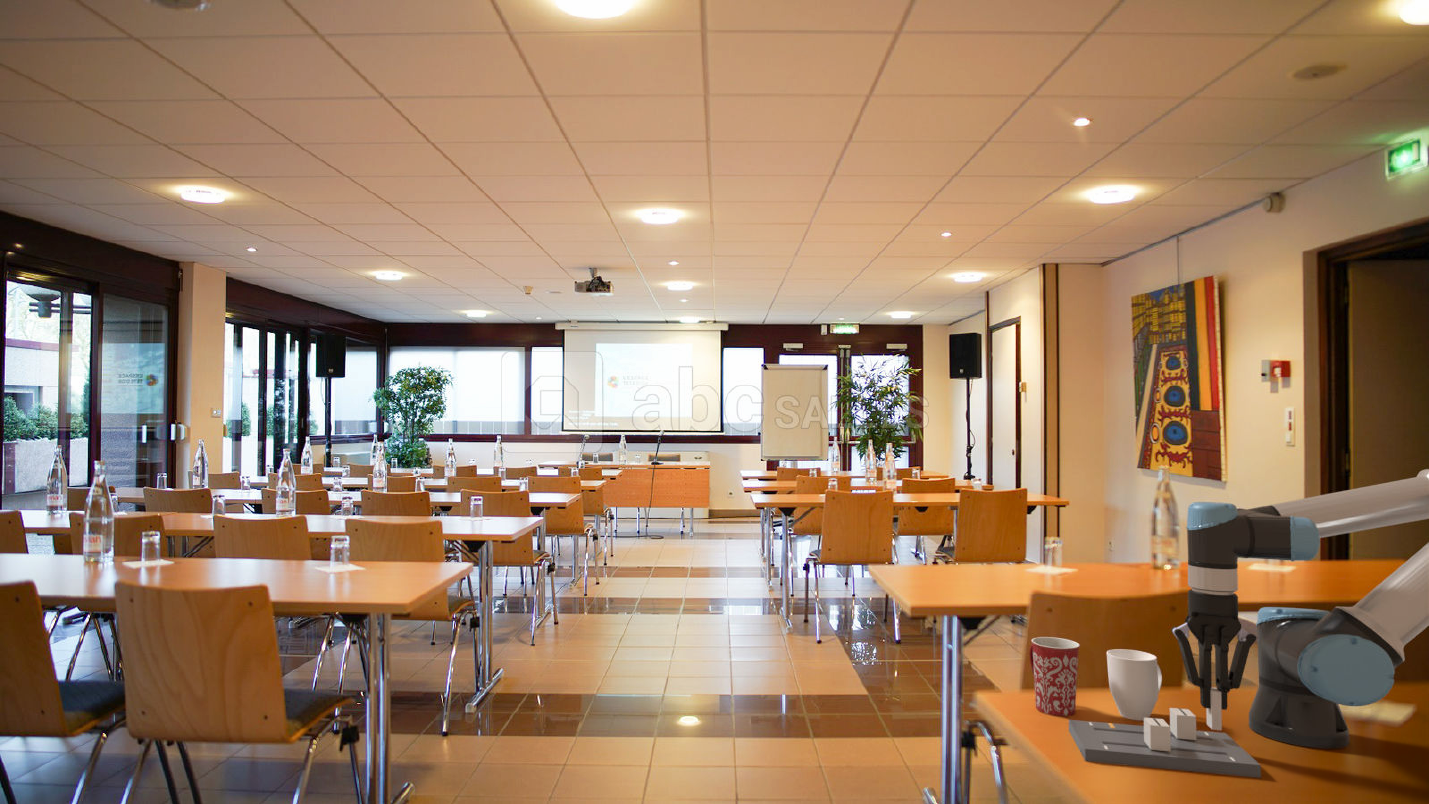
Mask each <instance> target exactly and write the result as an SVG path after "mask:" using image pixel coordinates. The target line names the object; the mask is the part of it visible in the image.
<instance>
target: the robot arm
mask: <svg viewBox="0 0 1429 804" xmlns="http://www.w3.org/2000/svg"><path fill="white" fill-rule="evenodd" d="M1186 519H1187V520H1186V523H1187V524H1186V537H1187V586H1188V587H1190V588H1191V589H1189V590H1187V610H1188V611H1187V612H1188V613H1187V616H1186V617H1185V620H1184V621H1185V622H1184V623H1183V624H1181V625H1179V626H1173V627H1171V630H1170V631H1171V633H1172V634H1173V636H1174V637H1175V638H1176V640H1177V643H1178V646H1179V650H1180V655H1181V658H1182V662H1183V665H1184V668H1185V672H1186V676H1187V680H1188V681H1189V682H1190V683H1191V684H1192V685H1194V686H1197V687H1199V689H1200V690H1199V694H1200V700H1199V701H1200V705H1201V706H1202V707H1203V708H1204V709H1206V710H1205V711H1206V725H1207V726H1208V727H1209V728H1210V729H1211V730H1214V731H1222V730H1223V729H1222V728H1223V727H1222V710H1225V711H1227V709H1228V694H1229V693H1230V692H1231V690H1233V689H1235V690H1238V689H1239V688H1240V687H1241V683H1242V680H1243V676H1244V671H1245V668H1246V665H1247V660H1248V657H1249V653H1250V649H1251V647H1252V646H1253V645H1254V643H1256V640H1257V661H1258V662H1257V664H1258V665H1257V666H1258V670H1257V671H1258V688H1257V690H1256V693H1255V696H1254V698H1253V700H1252V704H1251V706H1250V709H1249V712H1248V727H1249V728H1250V729H1251V730H1252V731H1253V732H1255V733H1256V734H1258V735H1261V736H1263V737H1266V738H1269V739H1271V740H1275V741H1279V742H1282V743H1286V744H1291V745H1296V746H1300V747H1301V746H1302V747H1308V748H1316V749H1341V748H1345V747H1347V746H1349V745H1350V731H1349V727H1348V725H1347V722H1346V720H1345V717H1344V714H1343V712H1342V709H1341V708H1340V705H1341V706H1346V707H1365V706H1368V705H1371V704H1375V703H1377V702H1378V701H1380V700H1382V699H1383V698H1384V697H1386V696H1387V695H1388V694H1389V692H1390V691H1391V689H1392V688H1393V685H1394V684H1395V679H1394V675H1395V674H1396V673H1395V672H1396V671H1395V670H1396V669H1397V668H1398V667H1399V666H1400V665H1402V663H1404V662H1405V652H1404V647H1405V646H1406V645H1407V644H1408V643H1409V642H1411V641H1412V640H1413V639H1415V638H1416V636H1418V635H1420V633H1422V632H1423V631H1424V630H1425V629H1426V628H1428V626H1429V542H1427V543H1426V544H1425V545H1424V546H1423V547H1421V549H1420V550H1418V551H1417V552H1416V553H1415V554H1413V555H1412V556H1411V557H1410V558H1409V559H1408V560H1406V561H1405V562H1404V563H1403V564H1402V565H1400V566H1399V567H1397V569H1396V570H1395V571H1393V572H1392V573H1391V574H1390V575H1388V576H1387V577H1386V578H1384V580H1382V582H1381V583H1379V584H1378V585H1377V586H1375V587H1374V588H1372V590H1370V591H1369V592H1368V593H1367V594H1366V595H1365V596H1364V597H1362V598H1361V599H1360V600H1359V601H1358V602H1356V604H1354V605H1353V606H1335V607H1334V608H1333V609H1331V610H1330V611H1329V610H1324V609H1323V610H1321V609H1313V608H1301V607H1300V608H1298V607H1297V608H1296V607H1280V606H1279V607H1278V606H1265V607H1261V608H1260V609H1259V610H1258V612H1257V618H1256V619H1257V621H1256V623H1255V626H1256V630H1257V631H1256V632H1257V635H1255V634H1253V633H1251V632H1250V631H1247V630H1245V629H1244V628H1242V624H1241V622H1240V620H1239V596H1238V595H1237V594H1236V593H1235V592H1237V591H1238V590H1239V578H1238V577H1239V576H1238V568H1239V567H1238V565H1239V564H1238V561H1239V560H1238V559H1239V558H1241V559H1262V560H1276V561H1277V560H1278V561H1290V562H1296V561H1311V560H1313V559H1315V558H1316V557H1317V555H1318V553H1319V550H1320V547H1321V541H1320V540H1321V538H1328V537H1333V536H1338V535H1339V536H1340V535H1345V534H1351V533H1356V532H1360V531H1361V532H1362V531H1367V530H1368V531H1369V530H1372V529H1377V528H1384V527H1390V526H1395V525H1400V524H1401V525H1402V524H1406V523H1411V522H1418V521H1422V520H1424V521H1425V520H1428V519H1429V468H1426V469H1422V470H1421V471H1419V472H1418V474H1417V475H1416V477H1410V478H1409V477H1408V478H1405V479H1400V480H1394V481H1389V482H1385V483H1384V482H1383V483H1379V484H1373V485H1368V486H1363V487H1358V488H1352V489H1347V490H1342V491H1336V492H1331V493H1325V494H1321V495H1315V496H1311V497H1306V498H1301V499H1300V498H1299V499H1296V500H1295V499H1294V500H1290V501H1285V502H1279V503H1274V504H1270V505H1265V506H1258V507H1252V508H1247V509H1246V508H1240V507H1239V508H1237V506H1236V505H1235V504H1233V503H1230V502H1229V503H1228V502H1217V501H1216V502H1214V501H1195V502H1192V503H1190V505H1188V507H1187V518H1186ZM1189 631H1190V632H1191V634H1192V635H1193V637H1195V639H1196V640H1197V646H1198V669H1197V665H1196V662H1195V657H1194V654H1193V650H1192V647H1191V644H1190V641H1189V637H1190V632H1189ZM1235 637H1236V639H1237V642H1236V644H1235V648H1234V651H1233V656H1232V659H1231V664H1230V667H1229V651H1230V647H1229V646H1230V643H1231V642H1232V641H1233V640H1234V638H1235ZM1213 647H1214V660H1215V661H1214V662H1215V663H1214V664H1215V666H1214V667H1215V668H1214V669H1215V672H1214V673H1215V675H1214V676H1215V687H1212V680H1213V678H1212V651H1213Z"/></svg>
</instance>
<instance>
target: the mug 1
mask: <svg viewBox="0 0 1429 804" xmlns="http://www.w3.org/2000/svg"><path fill="white" fill-rule="evenodd" d="M1030 642H1031V645H1030V648H1029V653H1028V654H1029V662H1030V663H1029V664H1030V668H1031V671H1032V674H1033V677H1034V678H1033V679H1034V698H1035V699H1034V701H1035V707H1036V710H1038V712H1040V713H1044V714H1046V715H1051V716H1057V717H1069V716H1073V715H1074V714H1075V713H1076V704H1077V703H1076V699H1077V682H1078V681H1077V680H1078V667H1079V666H1078V665H1079V664H1078V663H1079V650H1080V647H1081V644H1080V643H1078V642H1076V641H1073V640H1071V639H1067V638H1060V637H1053V636H1051V637H1050V636H1039V637H1035V638H1034V637H1033V638H1032V639H1031V641H1030Z"/></svg>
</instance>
